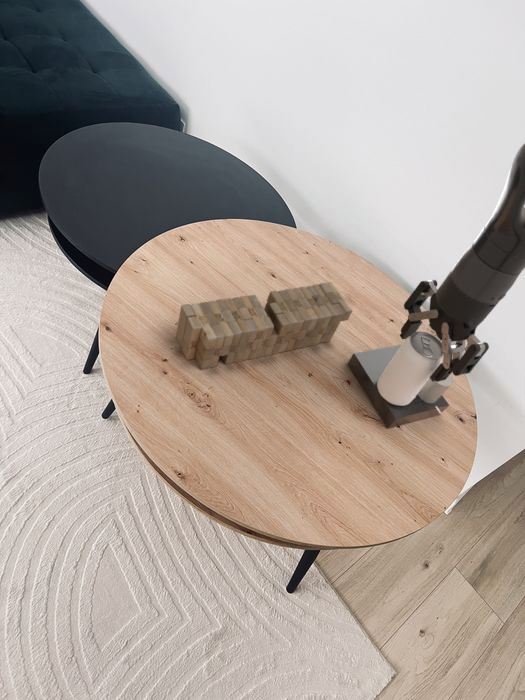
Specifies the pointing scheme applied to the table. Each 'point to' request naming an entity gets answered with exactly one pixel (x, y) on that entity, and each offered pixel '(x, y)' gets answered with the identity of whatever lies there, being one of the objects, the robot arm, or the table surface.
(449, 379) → the knob
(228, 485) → the table surface
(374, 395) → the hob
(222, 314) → the block tower
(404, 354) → the can
